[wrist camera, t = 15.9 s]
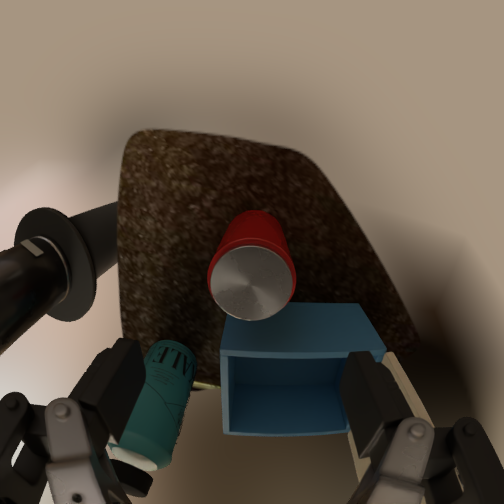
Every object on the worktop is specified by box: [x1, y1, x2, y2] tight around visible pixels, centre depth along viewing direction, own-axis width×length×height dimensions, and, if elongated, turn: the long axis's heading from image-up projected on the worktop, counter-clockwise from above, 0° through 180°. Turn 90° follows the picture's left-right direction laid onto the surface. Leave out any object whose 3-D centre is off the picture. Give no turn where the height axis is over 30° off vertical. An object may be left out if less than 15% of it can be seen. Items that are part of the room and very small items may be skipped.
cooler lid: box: [348, 352, 464, 504], centre depth 15 cm, size 15×13×6 cm
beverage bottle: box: [107, 340, 198, 497], centre depth 22 cm, size 6×7×20 cm
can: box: [207, 210, 296, 320], centre depth 22 cm, size 6×6×11 cm
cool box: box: [220, 302, 387, 436], centre depth 27 cm, size 14×13×9 cm
